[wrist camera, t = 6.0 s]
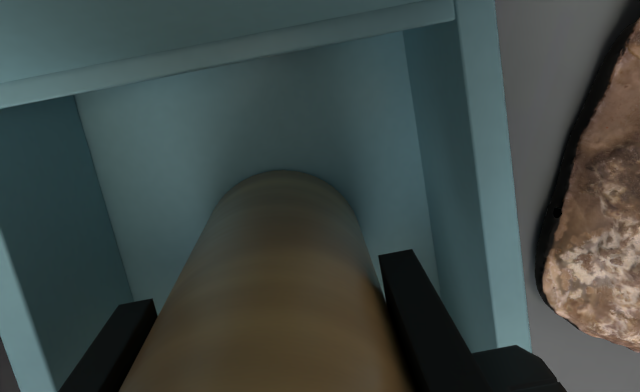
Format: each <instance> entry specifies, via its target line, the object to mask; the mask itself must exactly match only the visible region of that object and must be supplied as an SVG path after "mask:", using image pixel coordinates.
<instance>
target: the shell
mask: <svg viewBox="0 0 640 392" xmlns="http://www.w3.org/2000/svg"><path fill="white" fill-rule="evenodd" d="M570 135H571V136H570V138H569V141H568V144H567V147H566V149H565V152H564V159H563V161H562V163H561V169H560V172H559V176H558V182H557V186H556V188H555V191H554V193H553V195H552V199H551V203H550V204H549V206H548V210H547V214H546V216H545V218H544V223H543V226H542V232H541V235H540V237H539V241H538V245H537V252H536V263H535V278H536V285H537V289H538V291H539V294H540V295H541V297H542V299H543V301H544V302H545V303H546V304H547V305H548V306H549V307H550V308H551V309H552V310H553V311H554V312H555V313H556V314H557V315H559V316H562V317H563V318H564V319H566V320H567V321H568V322H570V323H571V324H572V325H573V326H575V327H576V328H577V329H578V330H581V331H583V332H584V333H586V334H588V335H591V336H593V337H598V338H603V339H606V340H608V341H610V342H612V343H614V344H619V345H623V346H626V347H628V348H629V349H631V350H633V351H635V352H639V353H640V18H639V19H638V20H637V21H636V22H635V23H634V24H631V25H629V26H628V27H627V28H625V29H624V30H623V31H622V33H621V34H620V35H619V36H618V38H617V39H616V40H615V42H614V43H613V45H612V47H611V48H610V50H609V52H608V54H607V55H606V57H605V59H604V61H603V64H602V66H601V68H600V70H599V72H598V74H597V77H596V79H595V81H594V83H593V85H592V88H591V91H590V93H589V94H588V96H587V98H586V100H585V104H584V108H583V109H582V111H581V113H580V115H579V116H578V120H577V122H576V123H575V126H574V128H573V130H572V132H571V133H570ZM555 207H557V208H561V210H562V211H561V212H562V216H560V217H559V218H554V216H553V214H554V213H553V211H554V208H555Z"/></svg>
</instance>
